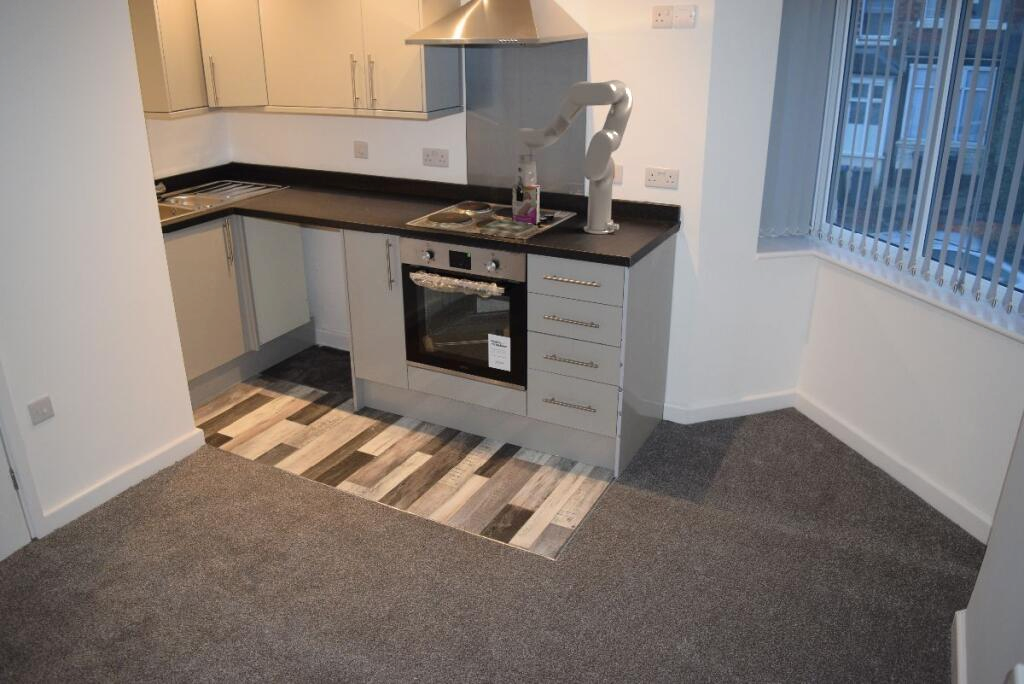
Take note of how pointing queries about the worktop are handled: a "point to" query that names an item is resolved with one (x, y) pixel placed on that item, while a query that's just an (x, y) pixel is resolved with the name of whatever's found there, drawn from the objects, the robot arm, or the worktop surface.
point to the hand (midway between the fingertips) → (525, 199)
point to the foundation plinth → (508, 228)
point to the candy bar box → (526, 205)
